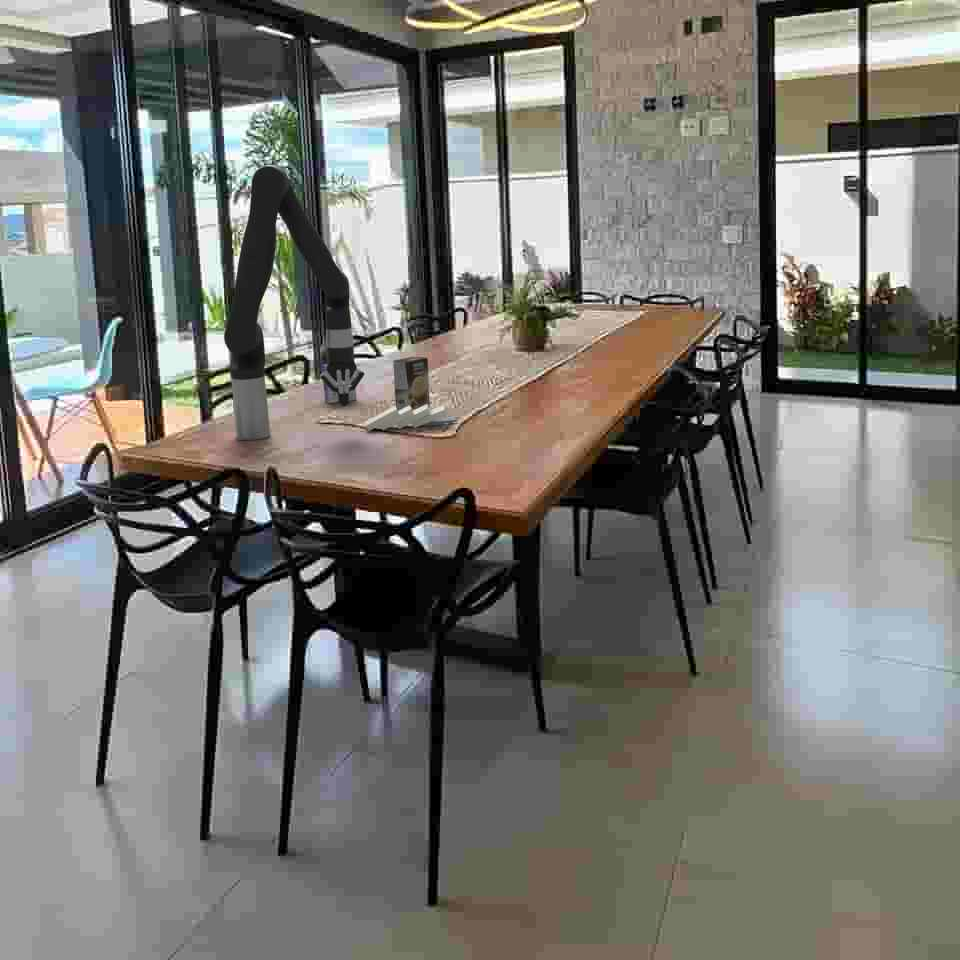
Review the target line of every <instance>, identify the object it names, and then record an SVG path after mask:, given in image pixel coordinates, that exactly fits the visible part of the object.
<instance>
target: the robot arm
mask: <svg viewBox="0 0 960 960" xmlns="http://www.w3.org/2000/svg"><path fill="white" fill-rule="evenodd" d="M249 202H250V203H249V211H248V212H249V213H248V219H247V223H246V226H245V229H244V230H245V231H244V235H243V239H242V243H241V247H240V252H239V257H238V261H237V262H238V263H237V271H236V276H235V277H236V278H235V283H234V290H233V291H234V293H233V299H232V305H231V309H230V312H229V315H228V319H227V322H226V325H225V330H224V333H223V340H224V344H225V346H226V348H227V349H228V351H230V352H231V353H232V363H231V366H230V378H231V379H230V380H231V381H230V382H231V387H232V397H233V398H232V399H233V404H232V405H233V414H234V415H233V417H234V426H235V434H236V438H237V439H238V441H254V440H255V441H256V440H261V439H265V438H268V437H271V427H270V426H271V425H270V418H269V417H270V416H269V407H268V406H269V405H268V398H267V397H268V395H267V385H266V378H265V377H266V375H265V374H266V373H265V366H266V354H265V353H266V352H265V351H266V349H265V338H264V337H265V336H264V331H263V329H262V326H261V325H260V324H259V322H258V319H259V313H260V312H259V311H260V308H261V307H260V306H261V304H262V300H263V299H264V296H265V293H266V291H267V289H268V286H269V284H270V281H271V277H272V274H273V268H274V265H275V264H274V263H275V260H276V259H275V258H276V248H277V247H276V246H277V243H276V242H277V237H276V236H277V235H276V234H277V233H276V230H277V229H276V227H277V221H278V219H277V218H278V216H280V217H281V219H282V221H283V222H284V225H285V226H286V228H287V230H288V233H289V234H290V236H291V238H292V240H293V243H294V244H295V246H296V249H297V250H298V252H299V253H300V255H301V256H302V258H303V260H304V261H305V262H306V264H307V266H308V267H309V268H310V269H311V271H312V273H313V276H314V277H315V279H316V282H317V283H318V285H319V287H320V288H321V289H322V291H323V292H324V299H325V313H324V315H325V318H324V319H325V346H326V348H325V349H326V358H327V359H326V360H327V361H326V363H327V367H326V371H325V372H324V373H323V374H322V373H321V374H319V376H318V378H320V380H321V381H322V382H323V381H324V383H325V384H326V385H327V386H328V387H329V388H330V389H331V390H332V391H333V392H337V393H338V402H337V403H338V404H339V405H340V406H341V407H347V406H348V405H349V404H350V401H349V392H350V391H352V390H354V389H355V388H356V389H357V387H358V385H359V384H360V382H361V381H362V379H363V377H364V376H365V373H364V371H363V370H360V369H358V366H357V365H356V362H355V348H354V335H353V334H354V333H353V327H352V315H351V310H350V281H349V278H348V277H347V275H346V274H345V273H344V272H342V271H341V269H340V268H339V267H338V265H337V264H336V262H335V261H334V257H333V256H332V255H333V254H332V253H331V251H330V249H329V248H328V246H327V244H326V243H325V241H324V240H323V239H322V237H321V235H320V233H319V232H318V231H317V229H316V227H315V226H314V225H313V223H312V222H311V220H310V218H309V217H308V215H307V213H306V212H305V210H304V208H303V207H302V205H301V203H300V201H299V199H298V197H297V195H296V193H295V190H294V189H293V186H292V183H291V181H290V179H289V175H288V174H287V172H286V171H285V170H284V169H283V168H282V167H281V166H278V165H275V164H267V165H262V166H261V167H259V168H257V170H256V171H255V172H254V173H253V176H252V179H251V188H250V201H249ZM354 372H355V378H354V379H353V381H352V382H351V384H350V385H349V380H350V379H351V377H352V376H353V374H354ZM328 374H330V376H331V377H332V378H333V379H334V380H335V382H336V386H337V387H334V386H333V385H332V383H331V382H330V381H329V380H328V379H329V376H328ZM342 381H343V388H342Z"/></svg>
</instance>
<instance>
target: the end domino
mask: <svg viewBox="0 0 960 960" xmlns="http://www.w3.org/2000/svg"><path fill="white" fill-rule="evenodd" d="M453 422H457V423H458V419H457V418H456V417H454V416H453V415H452V416H451V415H450V416H444V417H441V418H439V419H436V420H433V421H431V422H428V423H426V424H423V426H425V427H430V426H429V425H435V426H437V425H436V424H445V423H453ZM445 425H446V424H445ZM423 426H422V427H423Z"/></svg>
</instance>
